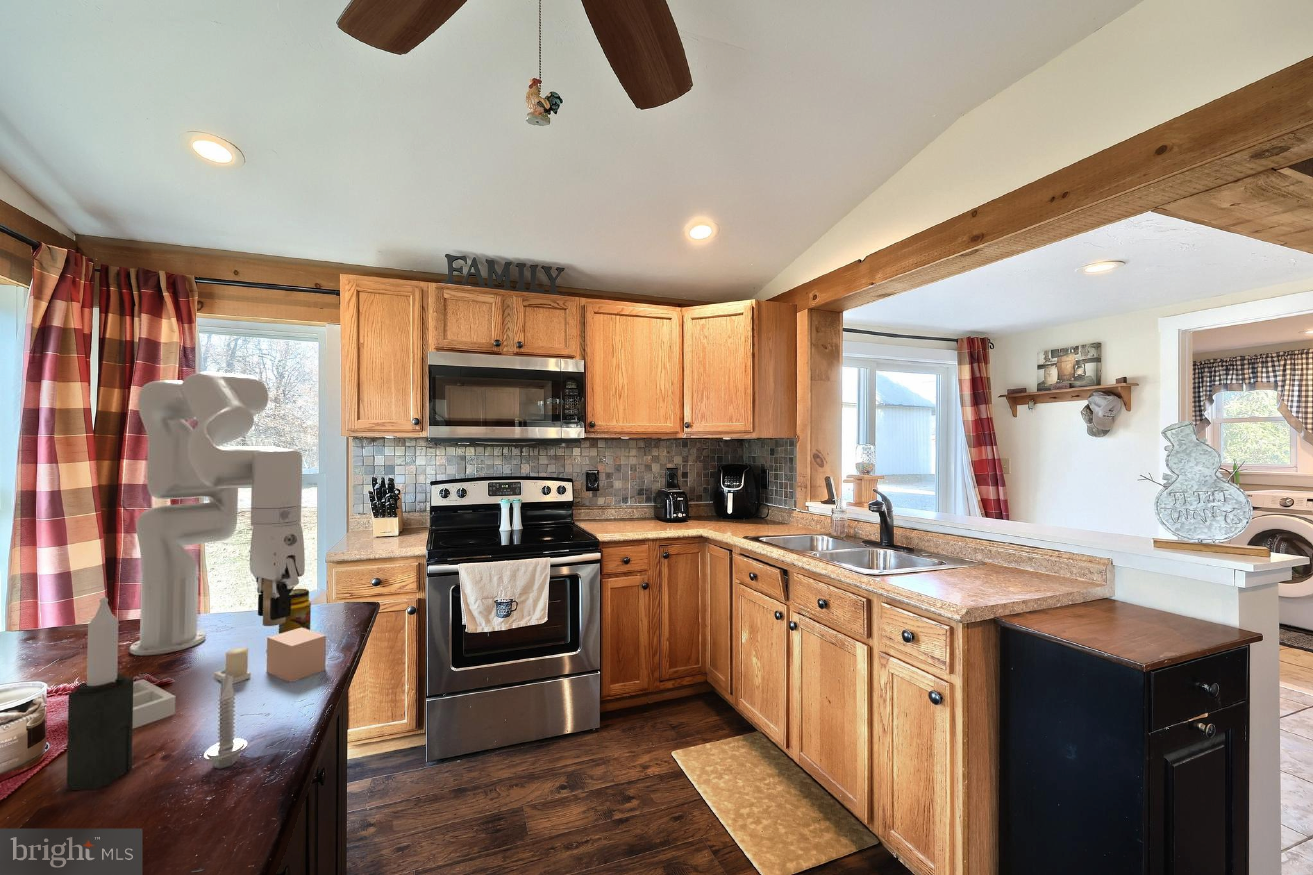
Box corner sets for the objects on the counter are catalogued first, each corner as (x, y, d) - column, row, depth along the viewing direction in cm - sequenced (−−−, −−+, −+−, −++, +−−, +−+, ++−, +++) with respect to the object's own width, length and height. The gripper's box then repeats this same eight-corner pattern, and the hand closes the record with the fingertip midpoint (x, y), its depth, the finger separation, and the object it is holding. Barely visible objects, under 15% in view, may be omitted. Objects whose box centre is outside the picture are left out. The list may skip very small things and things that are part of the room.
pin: (258, 623, 96) (259, 574, 96) (279, 618, 99) (280, 570, 99) (268, 627, 94) (269, 577, 94) (289, 621, 97) (290, 573, 97)
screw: (254, 752, 79) (233, 772, 74) (218, 754, 79) (195, 775, 74) (255, 665, 79) (234, 680, 75) (219, 667, 79) (196, 682, 74)
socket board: (88, 712, 90) (88, 695, 90) (142, 695, 96) (143, 679, 96) (118, 733, 84) (119, 714, 84) (174, 713, 90) (175, 696, 90)
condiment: (311, 645, 120) (312, 592, 120) (265, 653, 116) (266, 598, 116) (311, 635, 126) (312, 585, 126) (268, 642, 122) (269, 590, 122)
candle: (98, 767, 75) (101, 592, 75) (136, 765, 76) (140, 592, 76) (60, 790, 70) (64, 603, 70) (102, 789, 71) (106, 603, 71)
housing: (266, 671, 106) (267, 637, 106) (300, 660, 112) (301, 627, 112) (291, 682, 102) (291, 646, 102) (325, 669, 108) (326, 635, 108)
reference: (214, 677, 103) (214, 649, 103) (235, 670, 106) (235, 643, 106) (230, 685, 100) (230, 656, 100) (251, 677, 103) (251, 649, 104)
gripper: (323, 517, 96) (321, 617, 96) (274, 510, 104) (272, 603, 104) (278, 522, 89) (276, 630, 89) (229, 514, 97) (227, 613, 97)
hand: (274, 614), depth 97 cm, fingers closed on pin, 3 cm apart
